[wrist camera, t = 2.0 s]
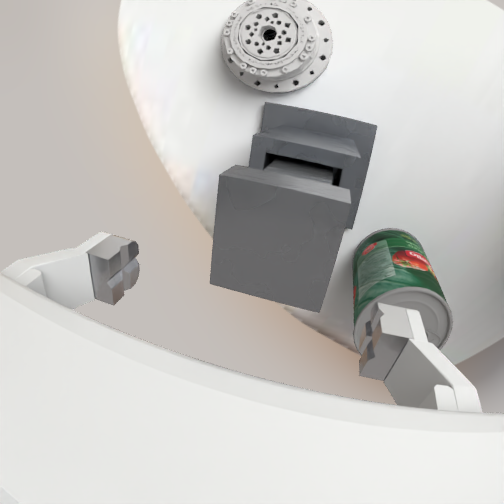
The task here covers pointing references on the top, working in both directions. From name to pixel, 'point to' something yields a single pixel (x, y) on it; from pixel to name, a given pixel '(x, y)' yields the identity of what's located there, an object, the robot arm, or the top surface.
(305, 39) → the mechanical component
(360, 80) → the top surface
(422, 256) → the canned tomato
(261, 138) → the grey hollow housing
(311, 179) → the column
